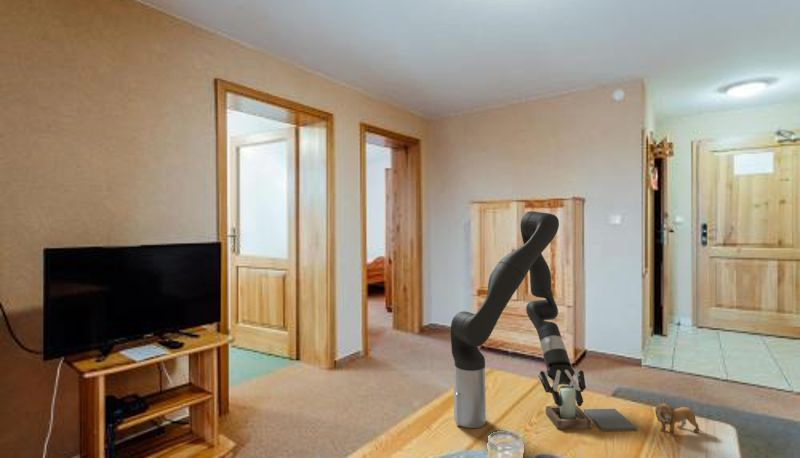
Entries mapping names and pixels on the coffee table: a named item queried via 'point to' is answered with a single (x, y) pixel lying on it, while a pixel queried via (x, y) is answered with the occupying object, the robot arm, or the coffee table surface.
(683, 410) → the lion figurine
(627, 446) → the coffee table surface
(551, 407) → the walnut pocket frame
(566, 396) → the sage wooden peg
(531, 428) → the coffee table surface
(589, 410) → the charcoal mat
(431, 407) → the coffee table surface
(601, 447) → the coffee table surface
